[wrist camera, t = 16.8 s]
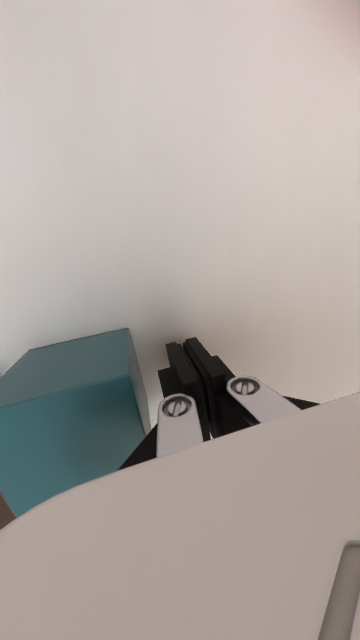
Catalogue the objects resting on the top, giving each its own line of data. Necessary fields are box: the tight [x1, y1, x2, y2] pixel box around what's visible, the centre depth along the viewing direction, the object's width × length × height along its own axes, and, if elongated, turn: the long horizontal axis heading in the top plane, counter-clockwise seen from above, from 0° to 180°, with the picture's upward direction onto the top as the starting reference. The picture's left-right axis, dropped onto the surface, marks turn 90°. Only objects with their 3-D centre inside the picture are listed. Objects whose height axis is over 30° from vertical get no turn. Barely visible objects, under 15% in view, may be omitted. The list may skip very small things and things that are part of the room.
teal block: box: [0, 328, 151, 518], centre depth 10 cm, size 5×5×5 cm
